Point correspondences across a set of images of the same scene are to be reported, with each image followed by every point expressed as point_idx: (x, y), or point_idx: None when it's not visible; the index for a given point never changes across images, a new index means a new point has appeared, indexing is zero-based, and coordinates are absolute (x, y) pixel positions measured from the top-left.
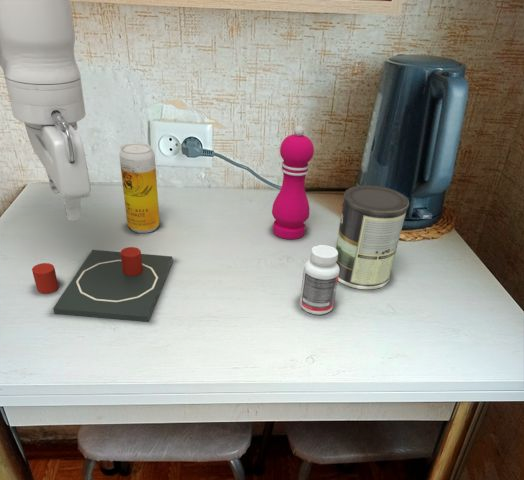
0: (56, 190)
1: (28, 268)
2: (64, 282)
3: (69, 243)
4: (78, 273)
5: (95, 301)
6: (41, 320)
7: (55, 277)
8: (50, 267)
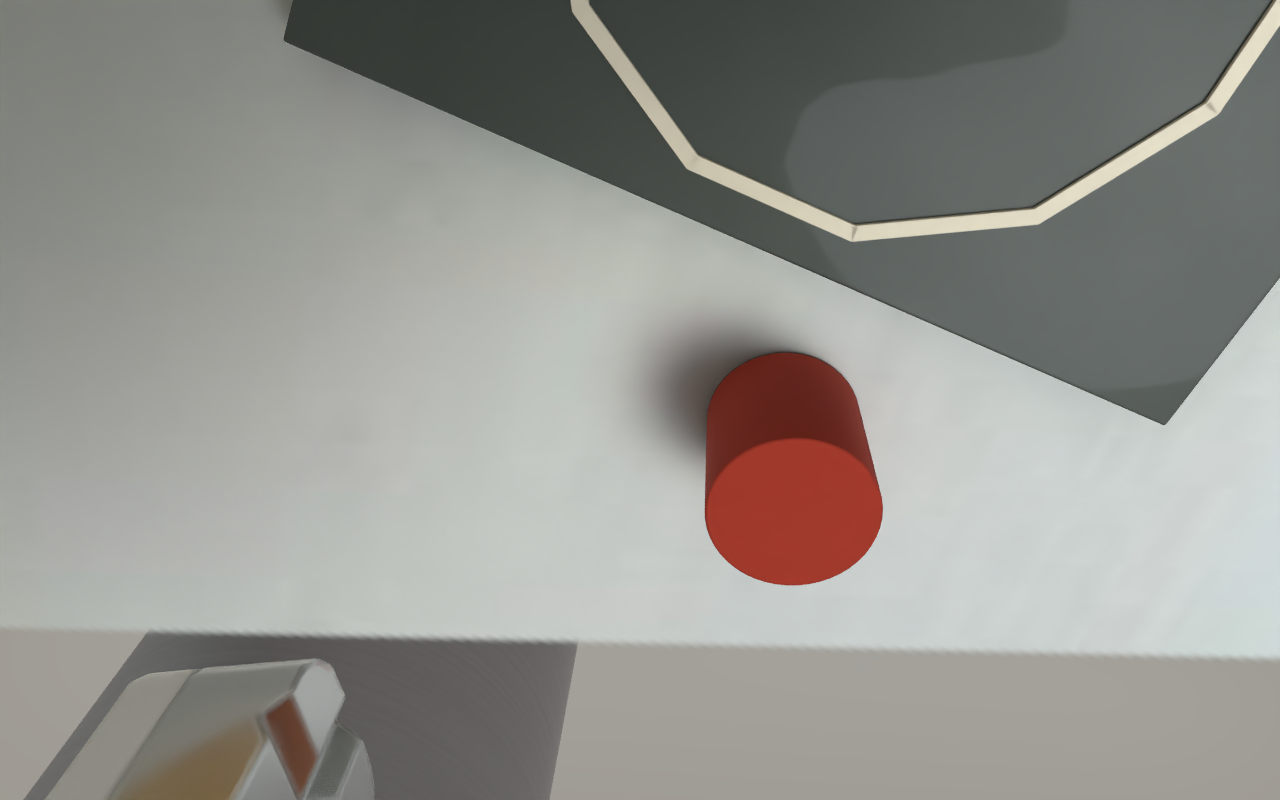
0: (346, 790)
1: (467, 519)
2: (731, 307)
3: (81, 220)
4: (711, 208)
5: (1231, 113)
6: (1185, 479)
7: (826, 405)
8: (800, 465)
